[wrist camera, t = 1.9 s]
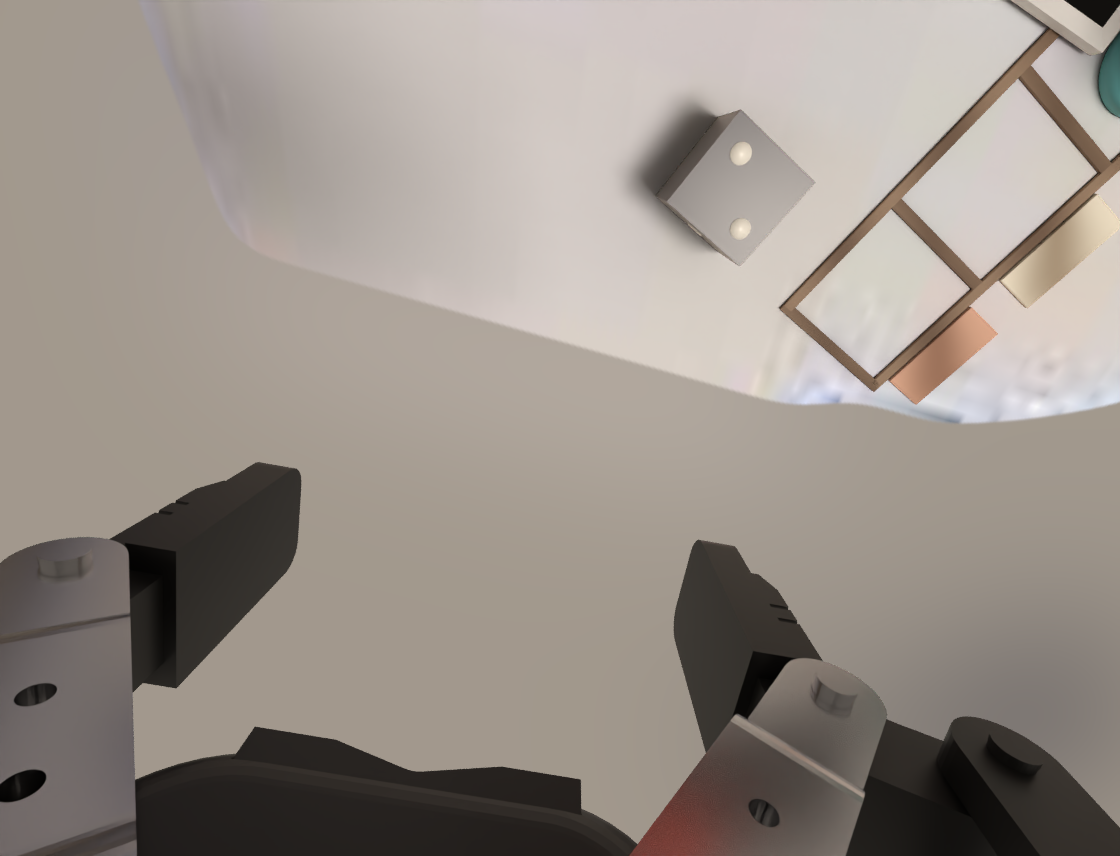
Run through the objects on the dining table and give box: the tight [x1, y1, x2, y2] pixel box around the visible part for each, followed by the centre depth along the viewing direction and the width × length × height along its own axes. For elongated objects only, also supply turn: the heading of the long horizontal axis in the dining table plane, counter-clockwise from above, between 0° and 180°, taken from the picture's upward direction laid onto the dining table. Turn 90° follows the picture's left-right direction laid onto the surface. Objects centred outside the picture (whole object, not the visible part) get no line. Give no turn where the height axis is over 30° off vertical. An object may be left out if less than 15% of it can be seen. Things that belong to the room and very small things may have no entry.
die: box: [656, 110, 815, 266], centre depth 30 cm, size 5×5×5 cm
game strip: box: [780, 28, 1120, 404], centre depth 32 cm, size 24×11×1 cm, turn 142°
